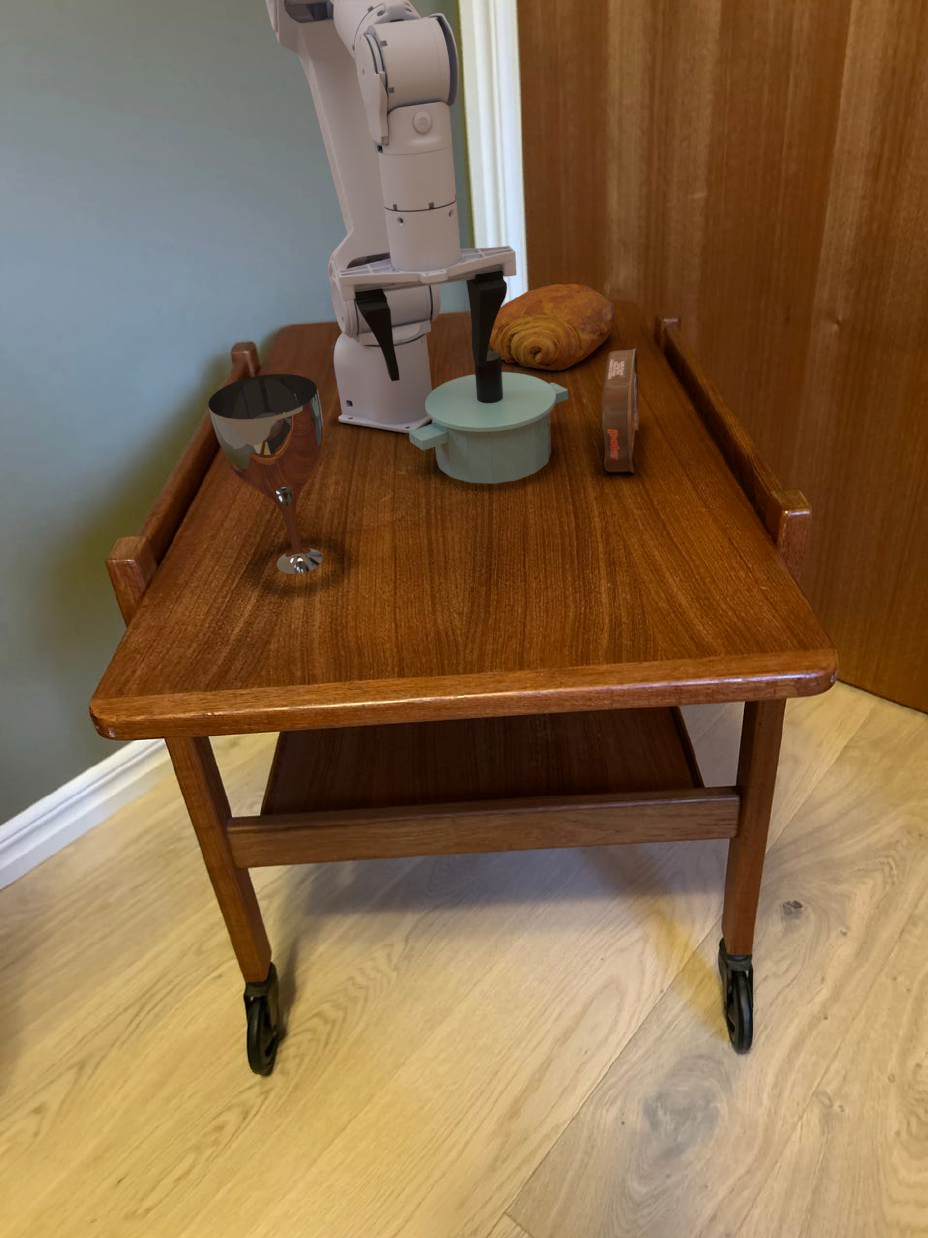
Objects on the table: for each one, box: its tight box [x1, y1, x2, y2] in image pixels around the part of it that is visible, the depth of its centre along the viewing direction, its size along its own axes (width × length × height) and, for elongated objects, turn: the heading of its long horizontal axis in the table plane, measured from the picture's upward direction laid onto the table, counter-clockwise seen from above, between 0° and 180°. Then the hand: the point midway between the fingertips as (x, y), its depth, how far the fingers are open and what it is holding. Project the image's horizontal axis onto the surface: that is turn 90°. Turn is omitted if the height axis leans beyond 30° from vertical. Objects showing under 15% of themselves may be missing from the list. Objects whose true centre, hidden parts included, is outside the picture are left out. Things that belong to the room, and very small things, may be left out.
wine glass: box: [207, 373, 324, 575], centre depth 71 cm, size 8×8×15 cm
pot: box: [408, 382, 569, 485], centre depth 86 cm, size 11×16×6 cm
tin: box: [600, 348, 640, 474], centre depth 85 cm, size 15×3×8 cm, turn 168°
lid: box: [425, 350, 556, 432], centre depth 83 cm, size 12×12×5 cm
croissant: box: [489, 283, 617, 372], centre depth 107 cm, size 14×16×8 cm
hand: (437, 369), depth 79 cm, fingers open, 7 cm apart
